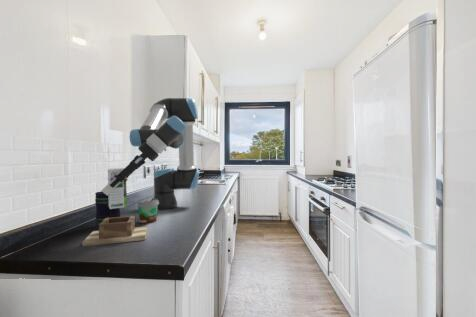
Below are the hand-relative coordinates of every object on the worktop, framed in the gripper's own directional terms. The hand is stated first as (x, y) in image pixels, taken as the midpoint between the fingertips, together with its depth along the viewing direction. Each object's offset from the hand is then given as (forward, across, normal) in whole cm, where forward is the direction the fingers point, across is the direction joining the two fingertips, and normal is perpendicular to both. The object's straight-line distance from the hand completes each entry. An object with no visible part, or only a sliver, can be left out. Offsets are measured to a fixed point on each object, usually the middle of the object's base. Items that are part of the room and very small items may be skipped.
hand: (106, 191), depth 90 cm
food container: (+2, +20, -23) cm, 31 cm away
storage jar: (+15, +20, -10) cm, 27 cm away
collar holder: (+10, 0, -15) cm, 18 cm away
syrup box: (+2, 0, -7) cm, 7 cm away
